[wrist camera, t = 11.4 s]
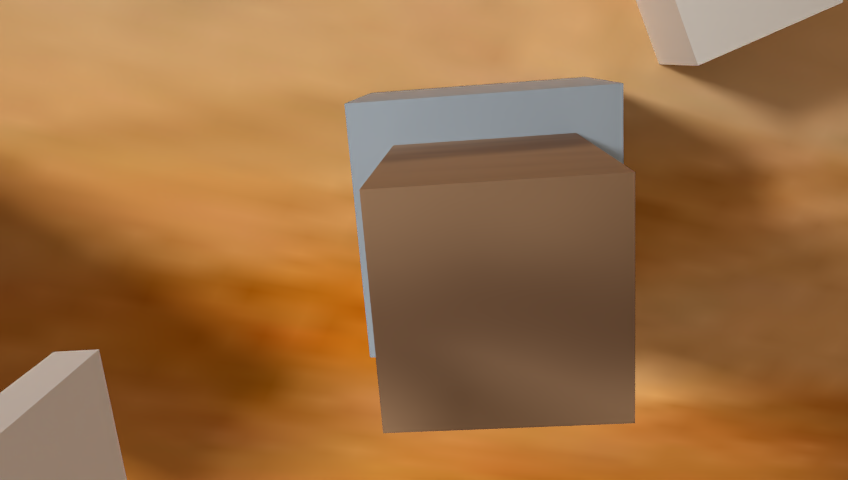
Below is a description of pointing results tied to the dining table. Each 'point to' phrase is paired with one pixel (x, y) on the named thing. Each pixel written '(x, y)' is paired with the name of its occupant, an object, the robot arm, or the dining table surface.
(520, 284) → the walnut block
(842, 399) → the dining table surface
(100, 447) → the robot arm
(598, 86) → the slate block
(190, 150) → the dining table surface
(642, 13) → the grey cube
